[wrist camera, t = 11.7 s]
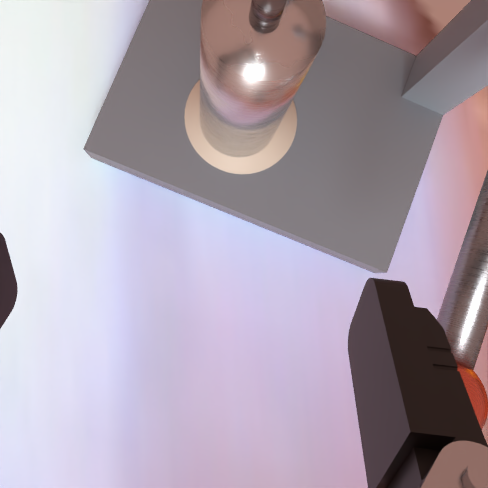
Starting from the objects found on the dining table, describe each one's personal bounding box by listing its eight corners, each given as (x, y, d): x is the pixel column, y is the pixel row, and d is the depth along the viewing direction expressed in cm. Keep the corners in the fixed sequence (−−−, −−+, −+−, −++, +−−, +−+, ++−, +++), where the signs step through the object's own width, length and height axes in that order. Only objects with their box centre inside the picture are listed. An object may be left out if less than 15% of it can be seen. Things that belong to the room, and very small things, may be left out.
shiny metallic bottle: (187, 138, 28) (179, 25, 15) (216, 69, 28) (232, -94, 16) (260, 169, 28) (309, 82, 16) (288, 100, 29) (357, -37, 16)
